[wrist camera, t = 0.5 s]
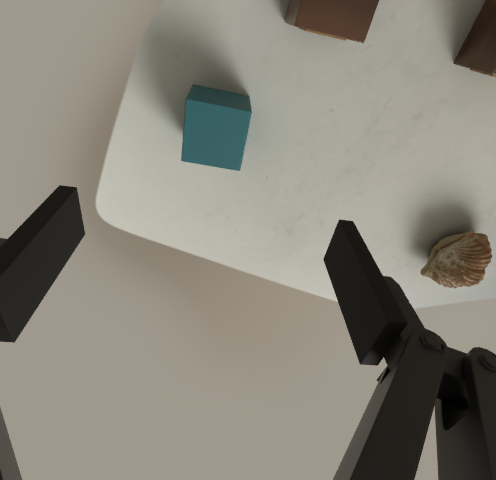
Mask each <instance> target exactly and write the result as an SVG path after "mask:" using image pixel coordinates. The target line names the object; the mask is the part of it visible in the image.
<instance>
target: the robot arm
mask: <svg viewBox="0 0 496 480" xmlns="http://www.w3.org/2000/svg"><path fill="white" fill-rule="evenodd" d="M84 235H85V231H84V225H83V221H82V214H81V209H80V203H79V198H78V192H77V188H76V187H68V186H59V187H58V188H57V189H56V190H55V191H54V192H53V193H52V194H51V195H50V196H49V197H48V198H47V199H46V200H45V201H44V202H43V203H42V204H41V205H40V206H39V207H38V208H37V209H36V210H35V211H34V213H32V214H31V216H30V217H29V218H28V219H27V220H26V221H25V222H24V223H23V224H22V225H21V226H20V227H19V228H18V229H17V230H16V231H15V232H14V233H13V234H12V235H11V236H10V237H9V238H8V239H3V238H0V341H1V342H15V341H16V339H17V338H18V336H19V335H20V333H21V331H22V330H23V329H24V327H25V326H26V324H27V322H28V321H29V319H30V318H31V316H32V315H33V313H34V311H35V310H36V309H37V307H38V306H39V304H40V303H41V301H42V299H43V298H44V296H45V295H46V293H47V292H48V290H49V289H50V287H51V286H52V284H53V283H54V281H55V279H56V278H57V276H58V275H59V273H60V272H61V270H62V269H63V267H64V266H65V264H66V263H67V261H68V259H69V258H70V256H71V255H72V253H73V252H74V250H75V249H76V247H77V246H78V244H79V243H80V241H81V240H82V238H83V237H84ZM324 262H325V265H326V268H327V271H328V274H329V277H330V279H331V282H332V285H333V288H334V291H335V294H336V297H337V300H338V302H339V305H340V308H341V311H342V314H343V317H344V319H345V323H346V325H347V328H348V331H349V334H350V337H351V340H352V343H353V346H354V348H355V351H356V354H357V357H358V360H359V362H360V364H363V365H364V364H365V365H378V364H379V363H380V361H381V360H382V359H383V357H384V358H385V360H386V363H387V365H388V366H387V367H386V368H385V370H384V371H383V372H382V374H381V375H380V376H379V378H378V379H377V381H378V384H377V386H376V389H375V391H374V393H373V395H372V397H371V399H370V401H369V404H368V406H367V408H366V410H365V413H364V414H363V417H362V419H361V421H360V423H359V425H358V427H357V429H356V431H355V434H354V436H353V438H352V440H351V442H350V444H349V446H348V449H347V451H346V453H345V455H344V457H343V459H342V461H341V464H340V466H339V468H338V470H337V472H336V474H335V476H334V479H333V480H414V478H415V475H416V471H417V468H418V464H419V460H420V457H421V453H422V449H423V446H424V442H425V438H426V434H427V430H428V427H429V424H430V420H431V416H432V412H433V409H434V405H435V421H436V439H437V457H438V458H437V459H438V478H439V480H496V355H495V354H494V353H492V352H491V351H489V350H487V349H483V348H480V347H477V348H473V349H472V350H470V351H469V352H468V354H466V353H463V352H461V351H458V350H455V349H452V348H449V347H447V345H446V343H445V342H444V341H443V340H442V339H441V338H440V336H438V335H437V334H435V333H434V332H432V331H430V330H427V329H425V328H424V326H423V324H422V323H421V321H420V319H419V317H418V316H417V314H416V312H415V311H414V309H413V307H412V306H411V304H410V303H409V300H408V299H407V297H406V296H405V294H404V292H403V290H402V289H401V287H400V285H399V284H398V283H397V282H396V281H395V280H394V279H392V278H391V277H387V276H383V275H382V274H381V272H380V270H379V268H378V266H377V264H376V263H375V261H374V259H373V257H372V255H371V253H370V252H369V250H368V248H367V246H366V244H365V242H364V241H363V239H362V237H361V235H360V233H359V231H358V230H357V228H356V226H355V224H354V222H353V221H347V220H339V221H338V224H337V226H336V229H335V231H334V234H333V237H332V239H331V242H330V244H329V247H328V249H327V252H326V254H325V257H324ZM0 480H22V478H21V474H20V471H19V468H18V464H17V461H16V458H15V454H14V451H13V448H12V445H11V441H10V438H9V435H8V432H7V428H6V425H5V421H4V418H3V415H2V412H1V409H0Z"/></svg>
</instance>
